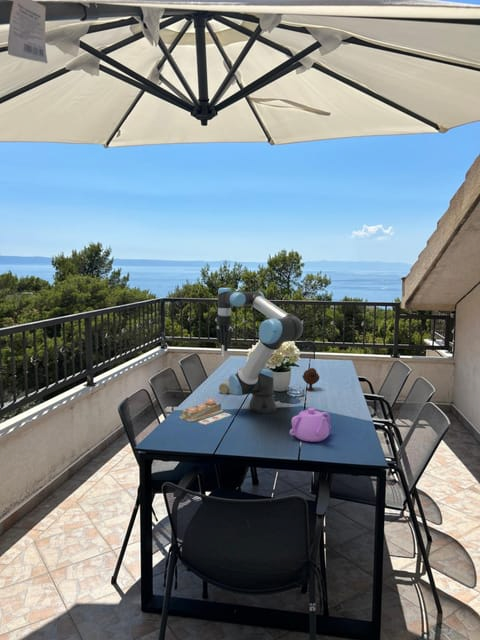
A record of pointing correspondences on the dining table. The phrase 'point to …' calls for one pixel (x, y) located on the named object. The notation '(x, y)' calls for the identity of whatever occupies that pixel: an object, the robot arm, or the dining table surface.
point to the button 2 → (210, 402)
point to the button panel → (201, 412)
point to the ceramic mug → (225, 387)
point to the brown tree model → (311, 378)
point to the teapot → (310, 425)
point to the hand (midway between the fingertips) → (224, 356)
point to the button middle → (201, 406)
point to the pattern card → (214, 418)
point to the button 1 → (192, 409)
